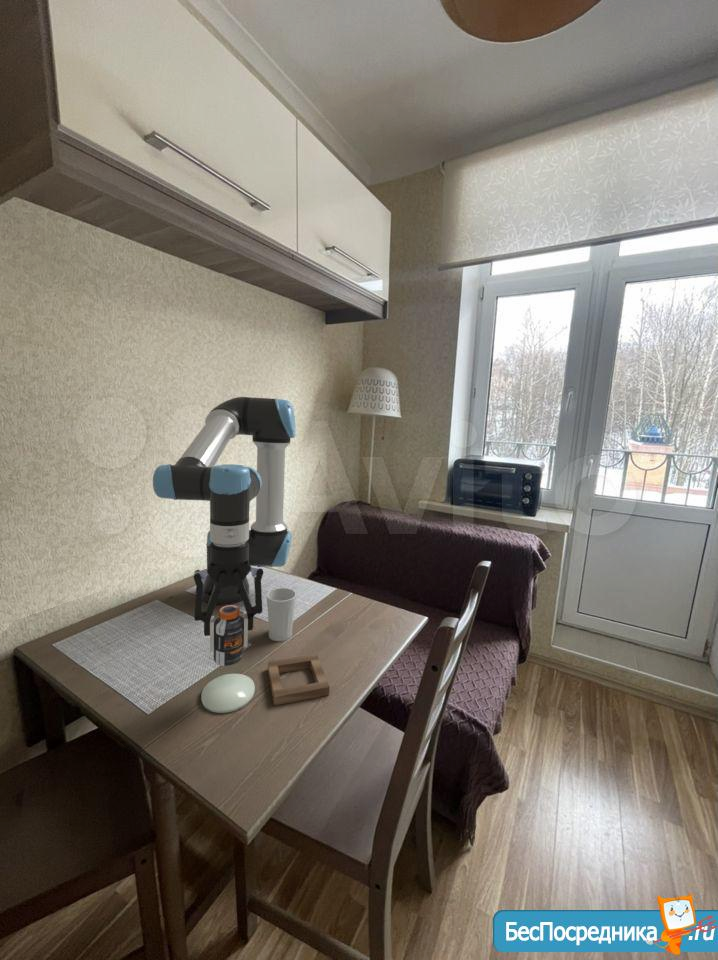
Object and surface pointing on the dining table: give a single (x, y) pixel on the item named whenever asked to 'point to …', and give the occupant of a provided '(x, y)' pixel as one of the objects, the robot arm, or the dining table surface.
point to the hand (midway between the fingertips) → (228, 645)
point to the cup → (280, 613)
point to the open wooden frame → (297, 692)
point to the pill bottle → (228, 636)
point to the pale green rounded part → (228, 693)
